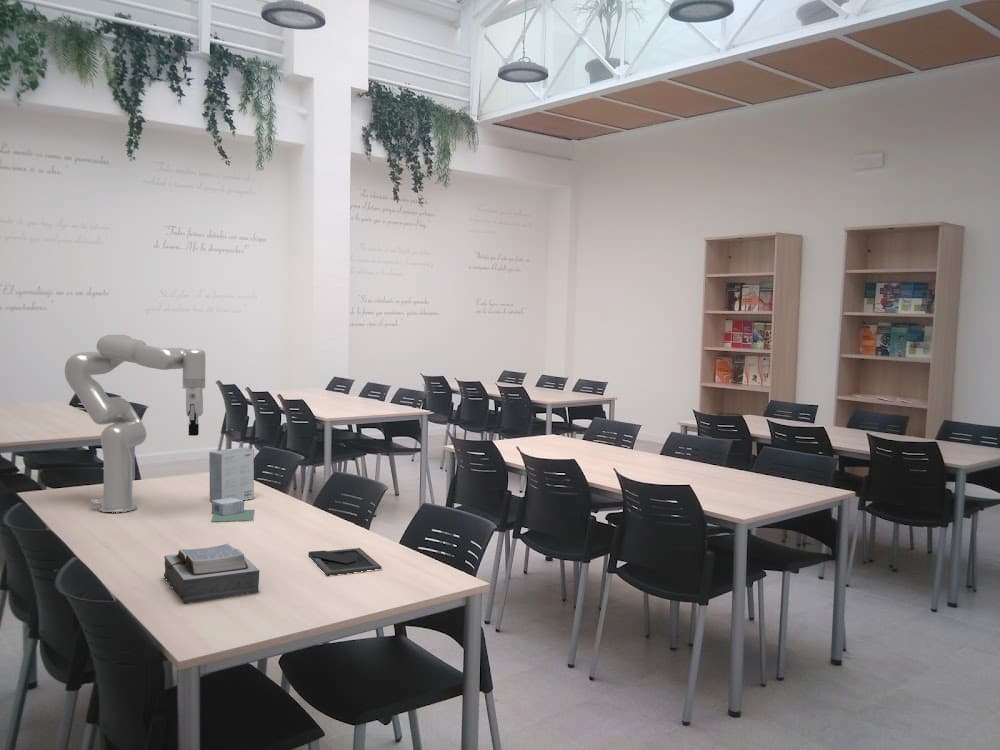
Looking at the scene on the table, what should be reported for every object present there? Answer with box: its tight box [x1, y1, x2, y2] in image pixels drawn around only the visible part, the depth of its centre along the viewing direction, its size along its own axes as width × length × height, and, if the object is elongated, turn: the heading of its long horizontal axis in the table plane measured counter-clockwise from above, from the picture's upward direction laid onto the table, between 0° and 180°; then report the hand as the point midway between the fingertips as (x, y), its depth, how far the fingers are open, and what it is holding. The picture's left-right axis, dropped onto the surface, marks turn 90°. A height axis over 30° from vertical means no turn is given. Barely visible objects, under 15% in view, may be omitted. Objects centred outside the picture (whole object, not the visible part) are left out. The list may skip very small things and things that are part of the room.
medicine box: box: [211, 497, 245, 516], centre depth 293 cm, size 8×4×9 cm
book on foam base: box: [163, 543, 260, 604], centre depth 215 cm, size 23×27×10 cm
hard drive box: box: [208, 447, 255, 504], centre depth 313 cm, size 16×8×20 cm, turn 144°
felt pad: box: [210, 509, 255, 523], centre depth 289 cm, size 14×16×1 cm
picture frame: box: [308, 547, 382, 577], centre depth 238 cm, size 16×2×21 cm
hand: (193, 435), depth 287 cm, fingers closed
